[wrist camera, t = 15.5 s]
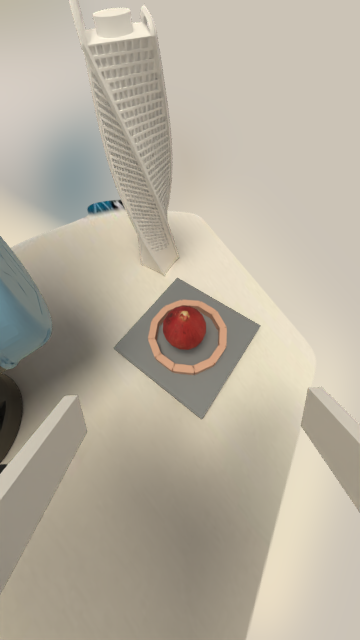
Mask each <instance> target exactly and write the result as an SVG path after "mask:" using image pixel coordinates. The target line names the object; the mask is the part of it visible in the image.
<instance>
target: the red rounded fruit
mask: <svg viewBox="0 0 360 640" xmlns="http://www.w3.org/2000/svg"><path fill="white" fill-rule="evenodd" d="M163 333H164V336H165V338H166V340H167V341H168V342H169V343H170V344H171V345H172V346H174V347H176V348H178V349H182V350H189V349H192V348H195V347H196V346H198V345H199V344H200V343H201V342H202V340H203V338H204V336H205V334H206V322H205V320H204V317H203V315H202V314H201V313H200V312H199V311H198V310H197V309H195V308H193V307H190V306H179V307H175V308H174V309H172V310H171V311H170V312H169V313H168V314H167V316H166V318H165V319H164V321H163Z"/></svg>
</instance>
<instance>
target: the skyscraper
mask: <svg viewBox="0 0 360 640" xmlns="http://www.w3.org/2000/svg"><path fill="white" fill-rule="evenodd" d="M69 3H70V7H71V11H72V15H73V19H74V22H75V26H76V30H77V34H78V37H79V41H80V45H81V48H82V50H83V52H84V55H85V60H86V66H87V71H88V76H89V82H90V86H91V91H92V97H93V102H94V107H95V112H96V116H97V121H98V125H99V130H100V134H101V138H102V142H103V146H104V150H105V154H106V157H107V161H108V164H109V167H110V171H111V174H112V177H113V179H114V182H115V185H116V188H117V190H118V193H119V195H120V198H121V201H122V203H123V205H124V207H125V210H126V212H127V214H128V216H129V218H130V220H131V222H132V224H133V226H134V228H135V230H136V232H137V234H138V241H139V251H140V260H141V265H142V266H143V265H144V266H146V267H148V268H151V269H153V270H155V271H157V272H159V273H161V274H163V276H165V275H166V273H167V271H168V270H169V269H170V267H171V266H172V265H173V264H174V262H175V261H176V260H177V259H179V255H178V251H177V248H176V245H175V242H174V239H173V236H172V233H171V230H170V227H169V224H168V221H167V210H168V205H169V198H170V191H171V182H172V139H171V128H170V119H169V111H168V103H167V96H166V89H165V82H164V76H163V69H162V63H161V57H160V50H159V44H158V37H157V31H156V26H155V23H154V20H153V18H152V16H151V14H150V13H149V11H148V10H147V8H146V6H145V5H143V6H142V8H141V10H140V19H141V22H137V23H132V19H131V13H130V9H127V8H112V9H105V10H101V11H97V12H95V13H93V14H92V15H93V20H94V23H95V28H94V29H87V30H86V29H85V25H84V21H83V17H82V14H81V10H80V6H79V3H78V0H69ZM147 22H148V25H149V28H148V27H147Z"/></svg>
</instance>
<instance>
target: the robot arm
mask: <svg viewBox="0 0 360 640" xmlns="http://www.w3.org/2000/svg"><path fill="white" fill-rule="evenodd" d="M51 333H52V319H51V316H50V313H49V310H48V308H47V305H46V303H45V301H44V299H43V297H42V295H41V293H40V292H39V290H38V288H37V286H36V285H35V283H34V281H33V280H32V278H31V277H30V275H29V274H28V272H27V271H26V269H25V268H24V266H23V265H22V263H21V262H20V261H19V259H18V258H17V257H16V255H15V254H14V253H13V251H12V250H11V249H10V247H9V246H8V245H7V244H6V242H5V241H4V240H3V239H2V238H1V236H0V462H1V461H2V459H3V458H4V456H5V455H6V453H7V452H8V450H9V449H10V447H11V445H12V443H13V441H14V439H15V437H16V434H17V432H18V429H19V425H20V422H21V416H22V399H21V394H20V391H19V389H18V387H17V385H16V384H15V383H14V381H13V380H12V379H10V378H9V377H8V376H6V375H4V374H1V373H2V372H3V371H5V370H7V369H12V368H14V367H15V366H16V365H17V364H18V363H19V361H20V360H22V359H23V358H25V357H26V356H28V355H29V354H31V353H32V352H34V351H35V350H37V349H38V348H40V347H42V346H43V345H44V344H45V343H46V342H47V341H48V340H49V338H50V336H51ZM301 427H302V428H303V430H304V431H305V433H306V434H307V435H308V437H309V438H310V440H311V441H312V443H313V444H314V446H315V447H316V449H317V450H318V452H319V453H320V454H321V456H322V458H323V459H324V461H325V462H326V463H327V465H328V466H329V468H330V469H331V471H332V472H333V474H334V475H335V477H336V478H337V480H338V481H339V483H340V484H341V486H342V487H343V489H344V490H345V491H346V493H347V494H348V496H349V497H350V499H351V500H352V502H353V503H354V504H355V506H356V507H357V509H358V511H359V512H360V424H359V423H358V422H357V421H356V420H355V419H354V418H353V417H352V416H351V415H350V414H349V413H348V412H347V411H346V410H345V409H344V408H343V407H342V406H341V405H340V404H339V403H338V402H337V401H336V400H335V399H334V398H333V397H331V395H330V394H328V393H327V392H326V391H325V390H324V389H323V388H322V387H317V388H308V391H307V396H306V401H305V407H304V412H303V417H302V422H301ZM86 433H87V428H86V424H85V421H84V417H83V413H82V409H81V406H80V402H79V398H78V395H68V396H64V397H63V398H62V400H61V401H60V402H59V403H58V404H57V406H56V407H55V408H54V409H53V411H52V412H51V413H50V414H49V415H48V417H47V418H46V419H45V420H44V421H43V423H42V424H41V425H40V426H39V427H38V429H37V430H36V431H35V432H34V434H33V435H32V436H31V437H30V438H29V440H28V441H27V442H26V443H25V444H24V446H23V447H22V448H21V449H20V451H19V452H18V453H17V454H16V455H15V457H14V458H13V459H12V460H11V461H10V463H9V464H1V465H0V594H1V592H2V590H3V589H4V587H5V585H6V583H7V581H8V579H9V577H10V575H11V574H12V572H13V570H14V568H15V566H16V564H17V562H18V560H19V559H20V557H21V555H22V553H23V551H24V549H25V547H26V545H27V544H28V542H29V540H30V538H31V536H32V534H33V532H34V530H35V529H36V527H37V525H38V523H39V521H40V519H41V517H42V515H43V514H44V512H45V510H46V508H47V506H48V504H49V502H50V500H51V499H52V497H53V495H54V493H55V491H56V489H57V487H58V485H59V484H60V482H61V480H62V478H63V476H64V474H65V472H66V471H67V469H68V467H69V465H70V463H71V461H72V459H73V457H74V456H75V454H76V452H77V450H78V448H79V446H80V444H81V442H82V441H83V439H84V437H85V435H86Z"/></svg>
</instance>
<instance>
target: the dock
mask: <svg viewBox="0 0 360 640" xmlns="http://www.w3.org/2000/svg"><path fill="white" fill-rule="evenodd" d="M179 306H190V307H193V308H195V309H197V310H198V311H199V312H200V313H201V314H202V315H203V317H204V320H205V322H206V334H205V336H204V338H203V340H202V342H201V343H200V344H199V345H198V346H196V347H195V348H192V349H189V350H182V349H178V348H176V347H174V346H172V345H171V344H170V343H169V342H168V341H167V340H166V338H165V336H164V333H163V321H164V319H165V318H166V316H167V314H168V313H169V312H170V311H171V310H172V309H174V308H175V307H179ZM259 327H260V325H259V324H257V323H255V322H253V321H252V320H250V319H248V318H246V317H245V316H243V315H241V314H239V313H238V312H236V311H234V310H233V309H231V308H229V307H227V306H226V305H224V304H222V303H220V302H219V301H217V300H215V299H213V298H212V297H210V296H208V295H206V294H205V293H203V292H201V291H200V290H198V289H196V288H194V287H193V286H191V285H189V284H187V283H186V282H184V281H182V280H180V279H179V278H177V279H176V280H175V281H174V282H173V283H172V284H171V285H170V286H169V287H168V289H167V290H166V291H165V292H164V293H163V294H162V295H161V296H160V297H159V298H158V300H157V301H156V302H155V303H154V304H153V305H152V306H151V307H150V308H149V309H148V311H147V312H146V313H145V314H144V315H143V316H142V317H141V318H140V319H139V320H138V322H137V323H136V324H135V325H134V326H133V327H132V328H131V329H130V330H129V331H128V333H127V334H126V335H125V336H124V337H123V338H122V339H121V340H120V341H119V342H118V344H117V345H116V346H115V347H114V349H115V350H116V351H117V352H118V353H120V354H121V355H122V356H123V357H125V358H126V359H127V360H128V361H130V362H131V363H132V364H133V365H135V366H136V367H137V368H138V369H140V370H141V371H142V372H143V373H145V374H146V375H147V376H148V377H150V378H151V379H152V380H153V381H155V382H156V383H157V384H158V385H160V386H161V387H162V388H163V389H164V390H166V391H167V392H168V393H169V394H171V395H172V396H173V397H174V398H176V399H177V400H178V401H179V402H181V403H182V404H183V405H184V406H186V407H187V408H188V409H189V410H191V411H192V412H193V413H194V414H196V415H197V416H198V417H199V418H201V419H202V418H203V417H204V415H205V414H206V412H207V410H208V409H209V407H210V406H211V404H212V402H213V401H214V399H215V398H216V396H217V394H218V393H219V391H220V390H221V388H222V386H223V385H224V383H225V382H226V380H227V378H228V377H229V375H230V374H231V372H232V370H233V369H234V367H235V366H236V364H237V363H238V361H239V359H240V358H241V356H242V355H243V353H244V351H245V350H246V348H247V347H248V345H249V343H250V342H251V340H252V339H253V337H254V335H255V334H256V332H257V331H258V329H259Z"/></svg>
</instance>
